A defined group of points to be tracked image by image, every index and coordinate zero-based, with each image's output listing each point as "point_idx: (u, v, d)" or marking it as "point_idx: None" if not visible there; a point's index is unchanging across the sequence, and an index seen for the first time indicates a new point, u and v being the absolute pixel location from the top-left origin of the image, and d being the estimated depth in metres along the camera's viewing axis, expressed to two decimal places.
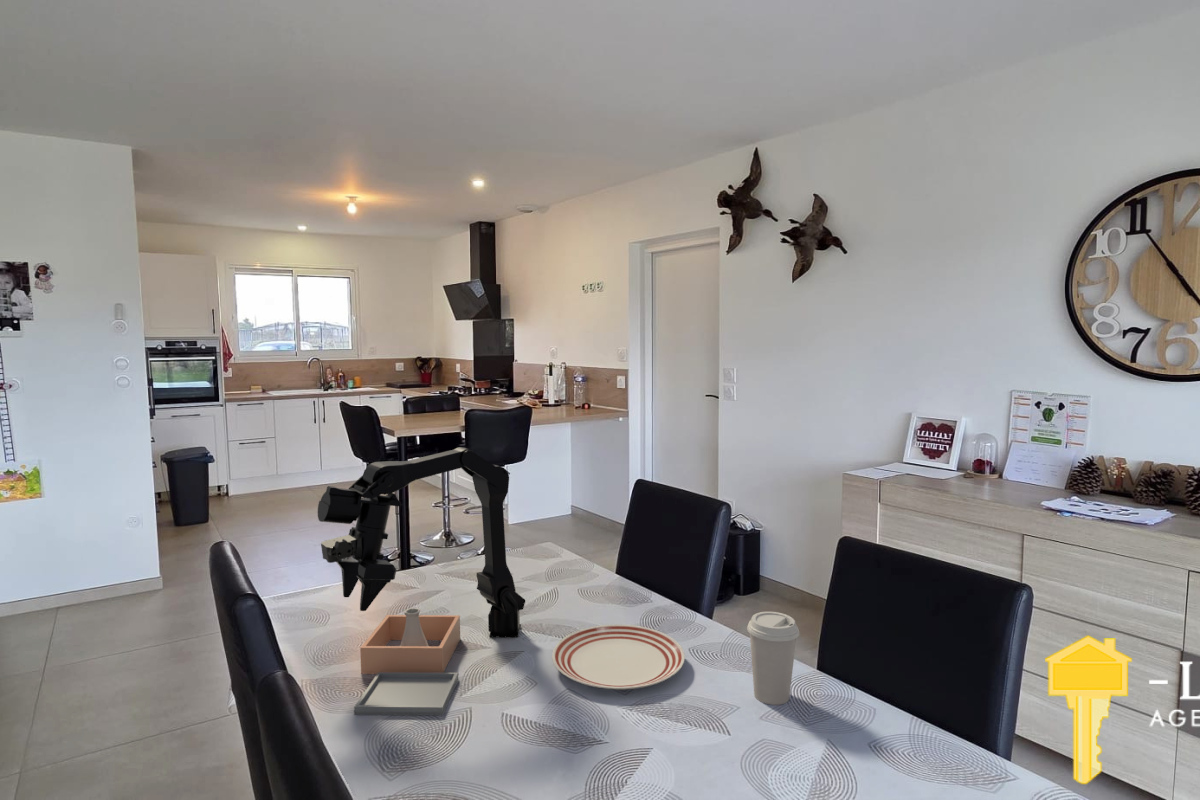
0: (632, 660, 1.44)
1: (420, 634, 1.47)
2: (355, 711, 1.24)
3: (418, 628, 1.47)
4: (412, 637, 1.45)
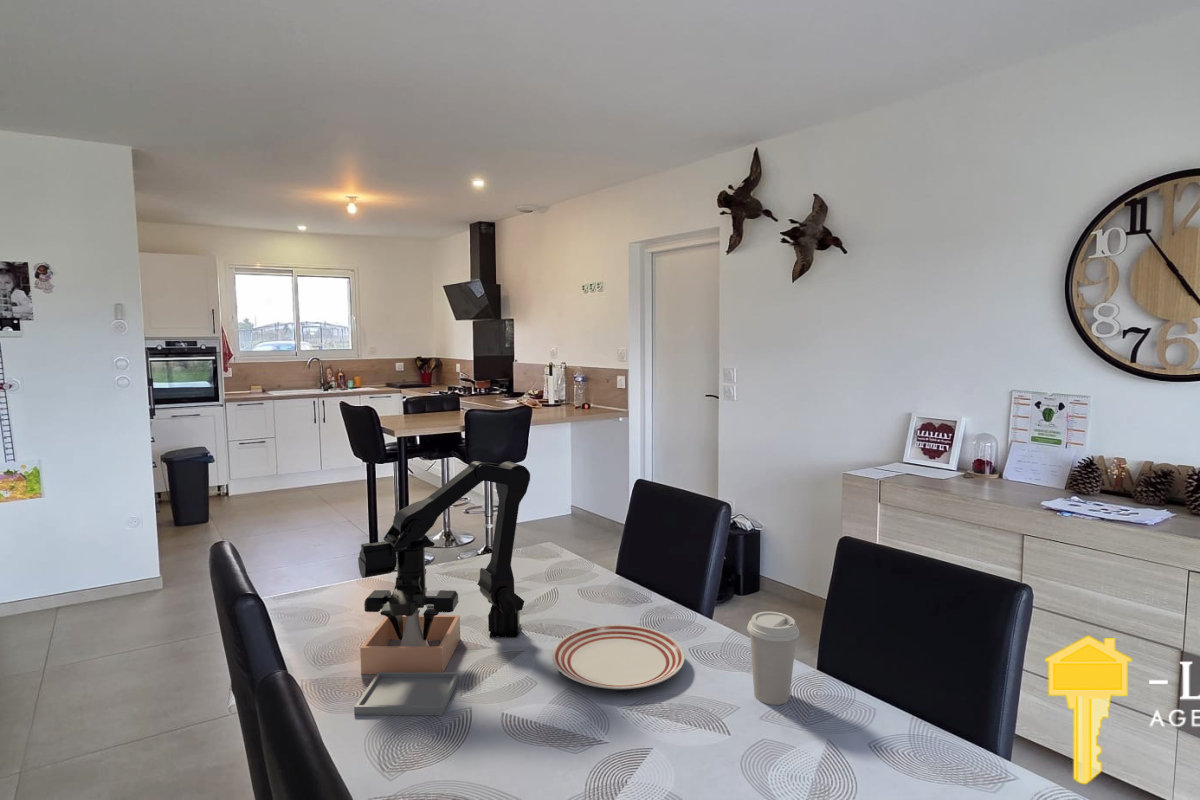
0: (632, 660, 1.44)
1: (420, 634, 1.47)
2: (355, 711, 1.24)
3: (418, 628, 1.47)
4: (412, 637, 1.45)
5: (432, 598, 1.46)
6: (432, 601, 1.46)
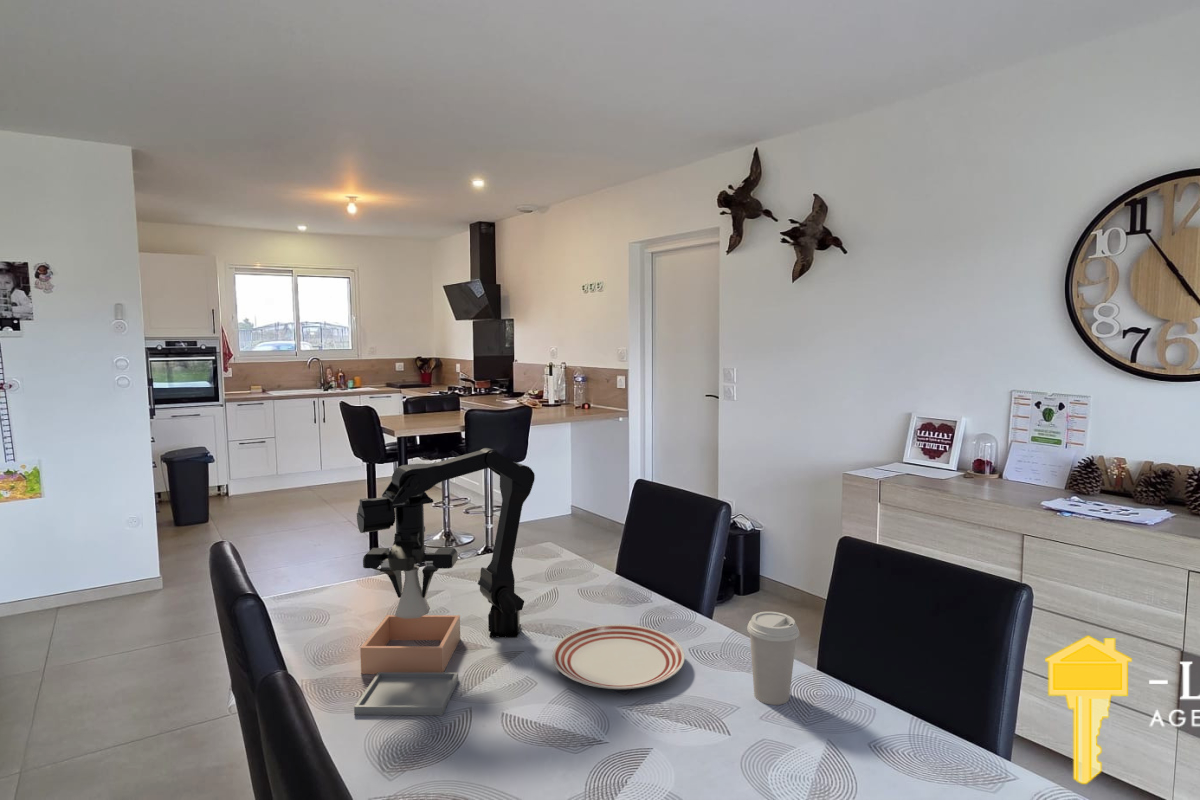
0: (632, 660, 1.44)
1: (419, 591, 1.46)
2: (355, 711, 1.24)
3: (417, 585, 1.46)
4: (411, 594, 1.45)
5: (431, 555, 1.45)
6: (431, 558, 1.45)
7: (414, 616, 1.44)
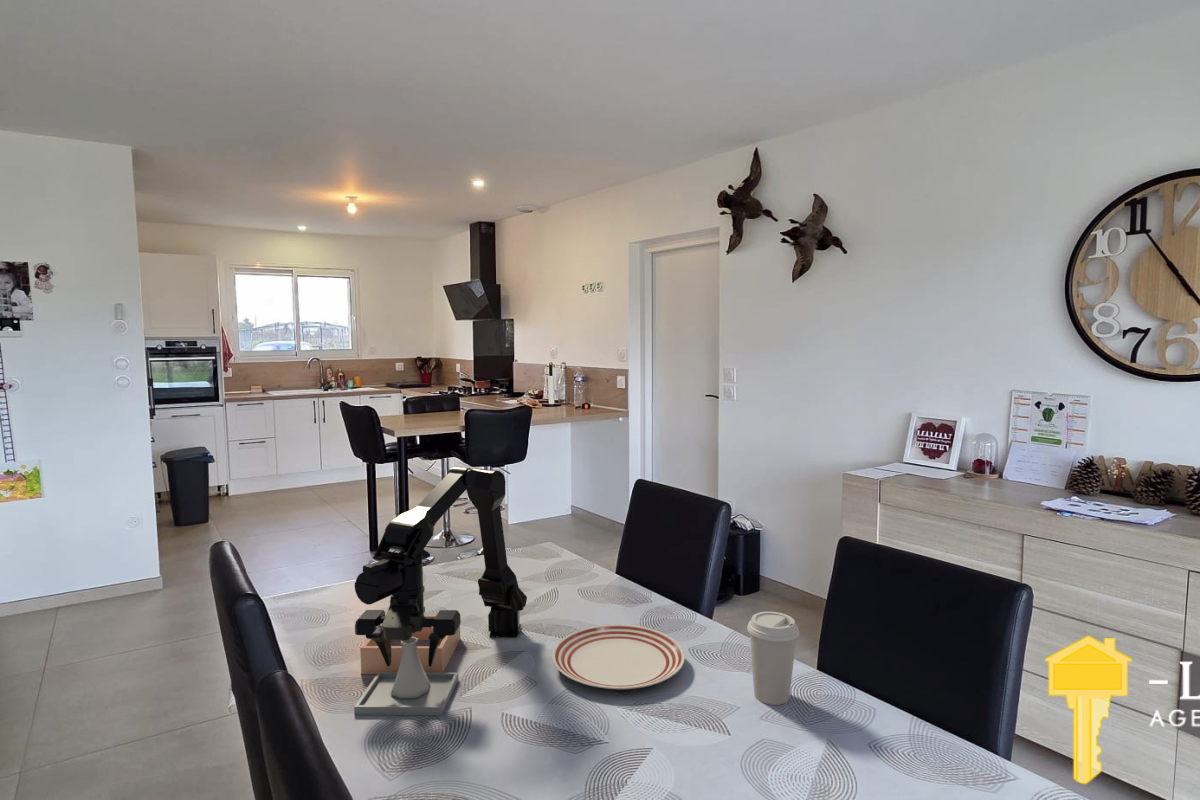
0: (632, 660, 1.44)
1: (418, 667, 1.31)
2: (355, 711, 1.24)
3: (416, 660, 1.31)
4: (409, 670, 1.29)
5: (431, 619, 1.30)
6: (431, 622, 1.30)
7: (412, 696, 1.28)
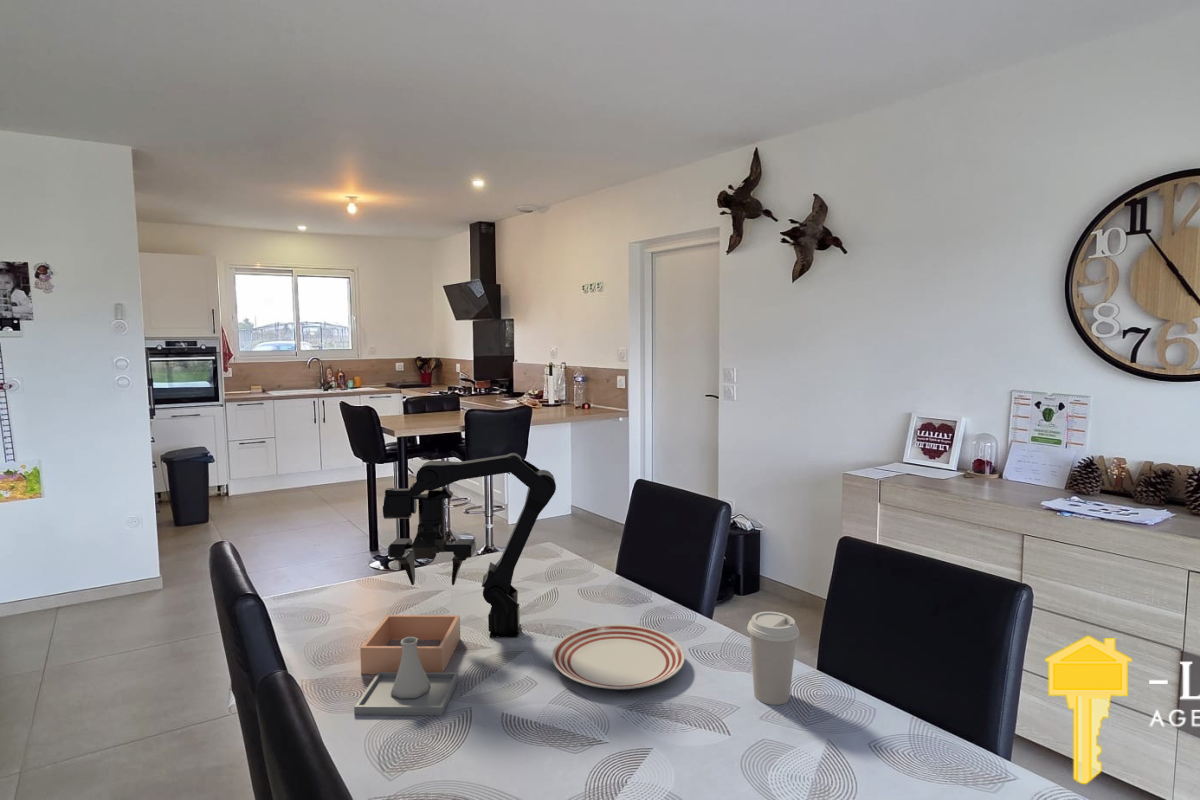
0: (632, 660, 1.44)
1: (418, 667, 1.31)
2: (355, 711, 1.24)
3: (416, 660, 1.31)
4: (409, 670, 1.29)
5: (451, 545, 1.55)
6: (451, 548, 1.55)
7: (412, 696, 1.28)
